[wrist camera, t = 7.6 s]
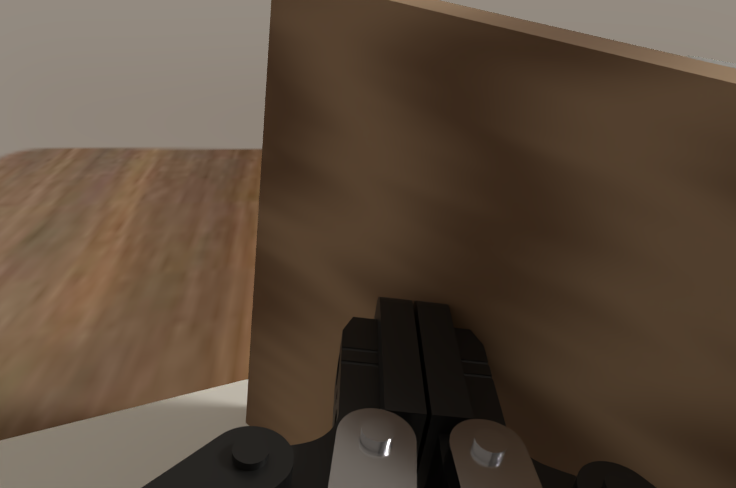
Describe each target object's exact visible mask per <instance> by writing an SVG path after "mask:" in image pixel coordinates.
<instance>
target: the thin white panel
mask: <svg viewBox="0 0 736 488" xmlns="http://www.w3.org/2000/svg"><path fill="white" fill-rule="evenodd" d="M247 393H248V379H247V380H243V381H238V382H234V383H230V384H226V385H222V386H218V387H214V388H210V389H206V390H202V391H198V392H194V393H190V394H186V395H182V396H178V397H174V398H170V399H166V400H162V401H158V402H154V403H150V404H146V405H142V406H137V407H133V408H129V409H125V410H121V411H117V412H113V413H109V414H105V415H101V416H97V417H93V418H89V419H85V420H81V421H77V422H73V423H69V424H65V425H61V426H57V427H53V428H49V429H45V430H40V431H36V432H32V433H28V434H24V435H20V436H16V437H12V438H8V439H4V440H0V488H142V487H143V486H145V485H146V484H148V483H149V482H151V481H152V480H154V479H155V478H157V477H158V476H160V475H161V474H163V473H164V472H166V471H167V470H169V469H170V468H172V467H173V466H175V465H176V464H178V463H179V462H181V461H182V460H184V459H185V458H187V457H188V456H190V455H191V454H193V453H194V452H195V451H197V450H198V449H200V448H201V447H203V446H204V445H206V444H207V443H209V442H210V441H212V440H213V439H215V438H216V437H218V436H219V435H221V434H223V433H225V432H226V431H229V430H231V429H234V428H238V427H243V426H249V425H248V424H247V423H246V409H247Z"/></svg>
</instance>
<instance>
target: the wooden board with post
mask: <svg viewBox="0 0 736 488" xmlns="http://www.w3.org/2000/svg"><path fill="white" fill-rule="evenodd" d="M378 297H388V298H397V299H406V300H412V302H413V303H414V301H415V300H416V301H425V302H433V303H442V304H448V305H449V308H450V312H451V317H452V322H453V326H454V328H462V329H470V330H471V331H472V332H473V333H474V335H475V336H476V337H477V338H478V339H479V340H480V342H481V343H482V344H483V345H484V348H485V352H486V355H487V359H488V365H489V366H490V370H491V373H492V379H493V381H494V384H495V388H496V391H497V395H498V399H499V402H500V406H501V409H502V413H503V417H504V420H505V424H506V427H507V428H509V429H510V430H512V431H513V432H514V433H516V434H517V435H518V436H519V437H520V438H521V440H522V441H523V442H524V444H525V446H526V448H527V450H528V453H529V455H530V457H531V458H533V459H534V460H536V461H538V462H540V463H542V464H544V465H547V466H549V467H552V468H555V469H558V470H561V471H563V472H566V473H569V474H572V475H575V476H577V475H578V472H579V471H580V469H581V468H582V467H583V466H584V465H586V464H588V463H590V462H594V461H608V462H613V463H616V464H620V465H622V466H625V467H627V468H629V469H631V470H633V471H634V472H636V473H637V474H639V475H640V476H642V477H643V478H644V479H646V480H647V481H648V482H650V483H651V484H652V485H654V486H655V487H656V488H736V68H731V67H727V66H723V65H718V64H714V63H710V62H705V61H701V60H697V59H692V58H688V57H684V56H679V55H675V54H670V53H666V52H662V51H658V50H653V49H649V48H644V47H640V46H636V45H631V44H627V43H623V42H618V41H614V40H610V39H605V38H601V37H597V36H592V35H588V34H584V33H579V32H575V31H570V30H566V29H562V28H557V27H553V26H548V25H544V24H540V23H536V22H531V21H527V20H522V19H518V18H514V17H510V16H505V15H501V14H497V13H492V12H488V11H483V10H479V9H475V8H470V7H466V6H461V5H457V4H453V3H448V2H444V1H440V0H272V1H271V17H270V34H269V50H268V66H267V82H266V98H265V116H264V131H263V147H262V164H261V180H260V196H259V213H258V229H257V245H256V262H255V278H254V295H253V311H252V327H251V344H250V360H249V376H248V393H247V409H246V423H247V424H248V425H249V426H258V427H264V428H268V429H271V430H273V431H275V432H277V433H279V434H280V435H282V436H283V437H284V438H285V439H286V440H287V441H288V443H289V444H290V445H295V444H301V443H306V442H310V441H313V440H316V439H318V438H320V437H322V436H324V435H325V434H326V433H328V432H329V431H330V430H331V429H332V422H333V406H334V388H335V379H336V372H337V365H338V359H339V352H340V345H341V338H342V331H343V329H344V328H345V326H346V325H347V324H348V322H349V321H350V320H351V319H352V317H360V318H369V319H374V316H375V310H376V305H377V300H378Z"/></svg>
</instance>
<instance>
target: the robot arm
mask: <svg viewBox="0 0 736 488" xmlns="http://www.w3.org/2000/svg"><path fill="white" fill-rule="evenodd" d="M142 488H656V487H655V486H654V485H652V484H651V483H650V482H648V481H647V480H646V479H644V478H643V477H642V476H640V475H639V474H637V473H636V472H634V471H633V470H631V469H629V468H627V467H625V466H622V465H620V464H616V463H613V462H608V461H594V462H590V463H588V464H586V465H584V466H583V467H582V468H581V469H580V471H579V472H578V475H577V476H575V475H572V474H569V473H566V472H563V471H561V470H558V469H555V468H552V467H549V466H547V465H544V464H542V463H540V462H538V461H536V460H534V459H533V458H531V457H530V455H529V453H528V450H527V448H526V446H525V444H524V442H523V441H522V440H521V438H520V437H519V436H518V435H517V434H516V433H514V432H513V431H512V430H510V429H509V428H507V427H506V424H505V420H504V417H503V413H502V409H501V406H500V402H499V399H498V395H497V391H496V388H495V384H494V381H493V379H492V373H491V370H490V366H489V365H488V359H487V355H486V352H485V348H484V345H483V344H482V343H481V342H480V340H479V339H478V338H477V337H476V336H475V335H474V333H473V332H472V331H471V330H470V329H462V328H454V326H453V322H452V317H451V312H450V308H449V305H448V304H442V303H433V302H425V301H416V300H415V301H414V303H413V302H412V300H406V299H397V298H388V297H378V300H377V305H376V310H375V316H374V319H369V318H360V317H352V319H351V320H350V321H349V322H348V324H347V325H346V326H345V328H344V329H343V331H342V338H341V345H340V352H339V359H338V365H337V372H336V379H335V388H334V406H333V422H332V429H331V430H330V431H329V432H328V433H326V434H325V435H324V436H322V437H320V438H318V439H316V440H313V441H310V442H306V443H301V444H295V445H290V444H289V443H288V441H287V440H286V439H285V438H284V437H283V436H282V435H280V434H279V433H277V432H275V431H273V430H271V429H268V428H264V427H258V426H243V427H238V428H234V429H231V430H229V431H226V432H225V433H223V434H221V435H219V436H218V437H216V438H215V439H213V440H212V441H210V442H209V443H207V444H206V445H204V446H203V447H201V448H200V449H198V450H197V451H195V452H194V453H193V454H191V455H190V456H188V457H187V458H185V459H184V460H182V461H181V462H179V463H178V464H176V465H175V466H173V467H172V468H170V469H169V470H167V471H166V472H164V473H163V474H161V475H160V476H158V477H157V478H155V479H154V480H152V481H151V482H149V483H148V484H146V485H145V486H143V487H142Z"/></svg>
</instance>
